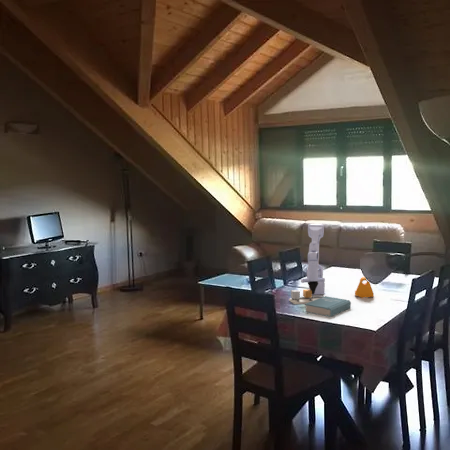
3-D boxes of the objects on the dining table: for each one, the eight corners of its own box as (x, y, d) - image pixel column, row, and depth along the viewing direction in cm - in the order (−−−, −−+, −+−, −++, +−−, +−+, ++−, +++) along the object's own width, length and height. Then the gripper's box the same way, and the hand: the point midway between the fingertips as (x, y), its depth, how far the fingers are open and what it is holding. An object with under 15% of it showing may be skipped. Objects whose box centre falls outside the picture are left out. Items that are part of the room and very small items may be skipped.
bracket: (372, 295, 344) (373, 276, 343) (373, 298, 337) (374, 278, 335) (354, 294, 346) (355, 275, 345) (355, 297, 339) (355, 278, 337)
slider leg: (309, 296, 333) (309, 289, 332) (313, 299, 326) (313, 291, 325) (303, 297, 332) (303, 289, 331) (307, 300, 325) (307, 292, 324)
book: (325, 304, 323) (325, 296, 322) (350, 309, 313) (350, 300, 312) (305, 312, 305) (305, 303, 305) (331, 317, 295) (331, 308, 295)
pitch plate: (323, 298, 335) (323, 288, 335) (329, 302, 327) (329, 291, 326) (289, 300, 330) (289, 290, 330) (294, 304, 322) (294, 293, 321)
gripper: (304, 273, 324) (303, 296, 325) (327, 272, 327) (326, 294, 329) (299, 271, 330) (299, 293, 332) (322, 270, 334) (321, 292, 335)
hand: (312, 293), depth 331 cm, fingers closed
